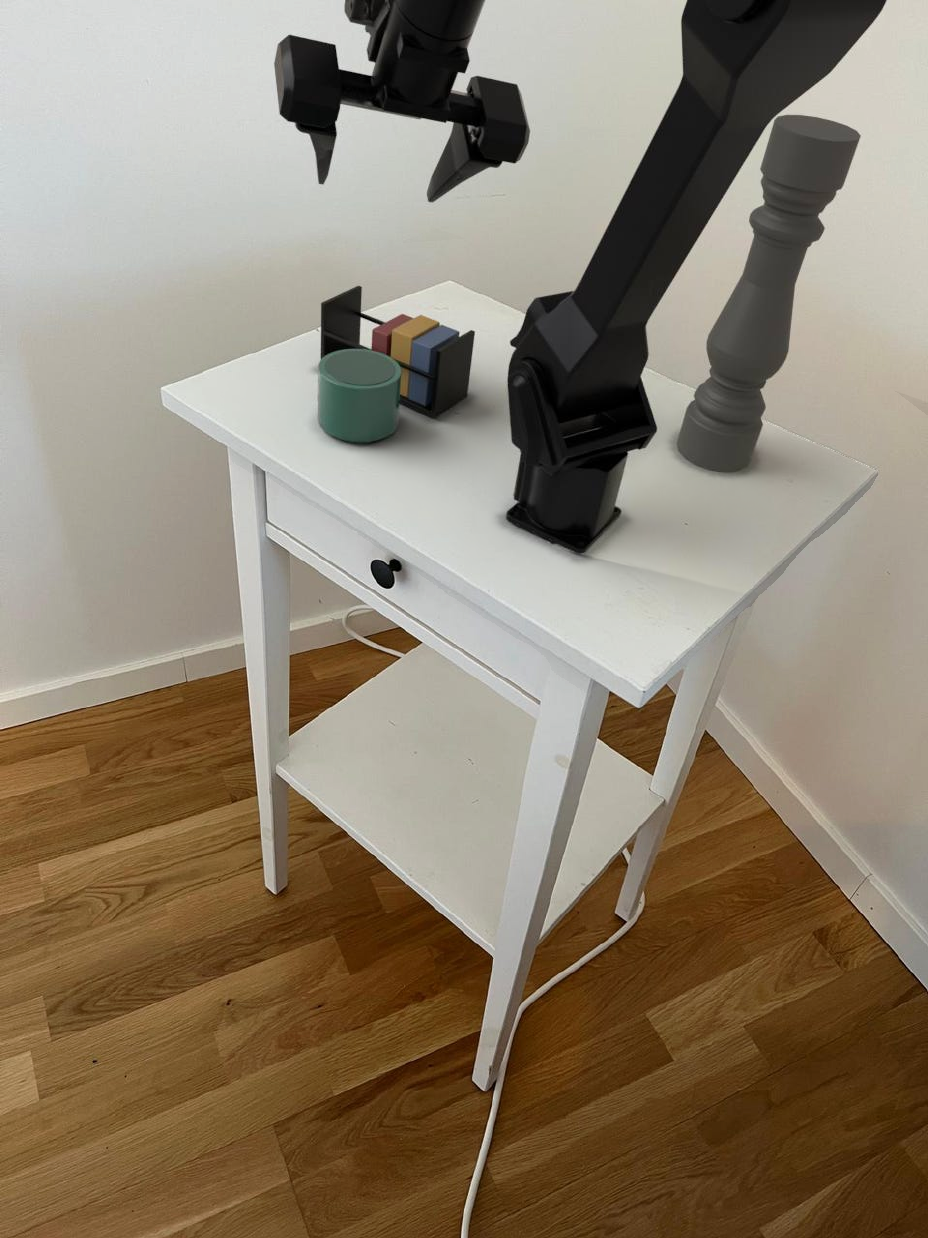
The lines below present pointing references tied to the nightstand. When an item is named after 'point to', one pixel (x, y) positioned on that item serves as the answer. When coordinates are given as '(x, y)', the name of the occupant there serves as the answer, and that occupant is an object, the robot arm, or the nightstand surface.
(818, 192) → the candle holder
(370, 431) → the green glass jar
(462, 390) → the rack
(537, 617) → the nightstand surface
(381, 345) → the books
